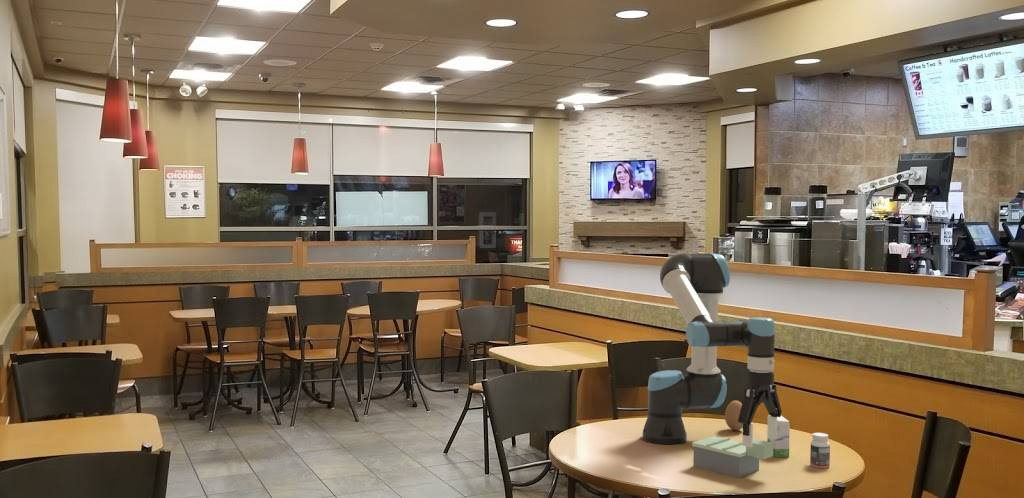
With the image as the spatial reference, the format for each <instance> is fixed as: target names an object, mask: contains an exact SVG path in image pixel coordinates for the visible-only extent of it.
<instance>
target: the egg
mask: <svg viewBox="0 0 1024 498" xmlns="http://www.w3.org/2000/svg"><path fill="white" fill-rule="evenodd" d="M742 403H743V402H740V401H739V400H732V401H730V403H729V404H728V405H727V406H726V409H725V413H724V421H725V422H726V425H727V426H728V428H729V429H730V430H732V431H735V432H736V431H737V432H738V431H740V430H743V424H742V423H739V422H738V418H739V414H740V410H741V406H742Z"/></svg>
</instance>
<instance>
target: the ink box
mask: <svg viewBox="0 0 1024 498" xmlns="http://www.w3.org/2000/svg"><path fill="white" fill-rule="evenodd" d="M768 416H770V415H769V414H768V415H767V417H768ZM790 425H791V424H790V421H789V420H788V419H786V418H785V417H784V416H783V415H781V417H777V439H771V438H767V437H766V438H767V439H766V441H767V442H772V443H773V457H774V458H789V457H790Z"/></svg>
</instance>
